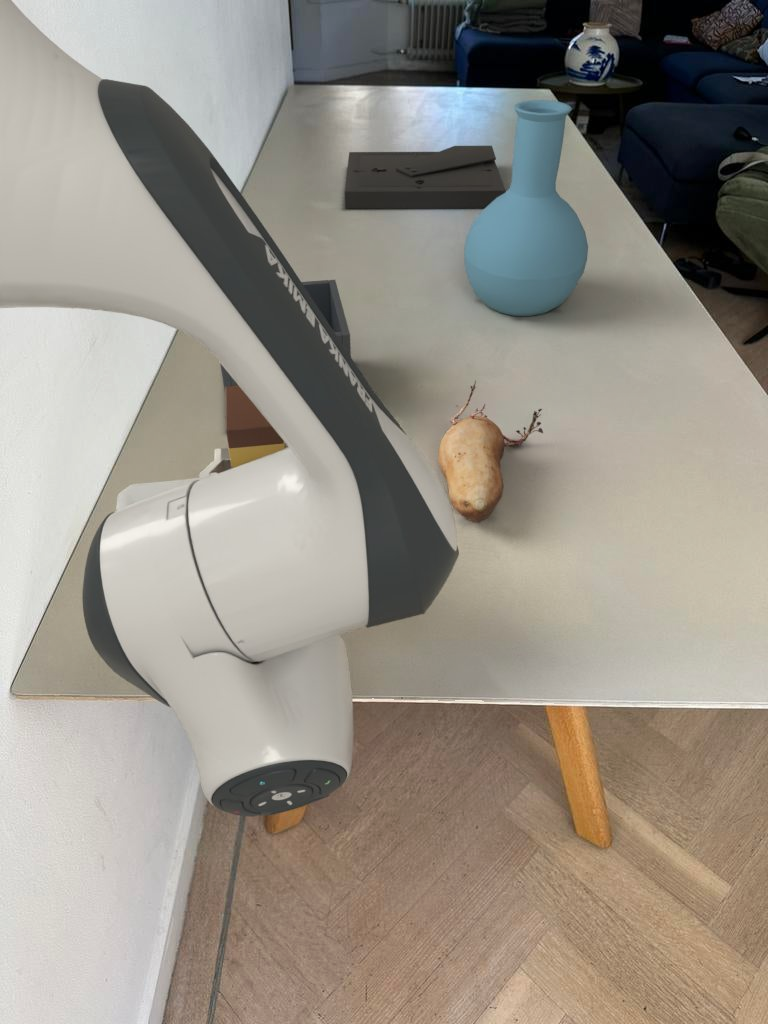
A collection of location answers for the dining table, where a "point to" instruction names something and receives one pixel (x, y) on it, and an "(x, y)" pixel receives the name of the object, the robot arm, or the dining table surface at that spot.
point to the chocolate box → (248, 430)
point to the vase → (528, 224)
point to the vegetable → (475, 462)
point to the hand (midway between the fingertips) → (258, 451)
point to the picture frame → (423, 179)
